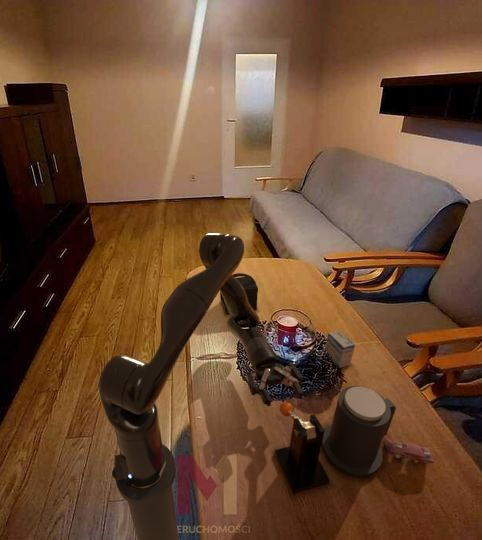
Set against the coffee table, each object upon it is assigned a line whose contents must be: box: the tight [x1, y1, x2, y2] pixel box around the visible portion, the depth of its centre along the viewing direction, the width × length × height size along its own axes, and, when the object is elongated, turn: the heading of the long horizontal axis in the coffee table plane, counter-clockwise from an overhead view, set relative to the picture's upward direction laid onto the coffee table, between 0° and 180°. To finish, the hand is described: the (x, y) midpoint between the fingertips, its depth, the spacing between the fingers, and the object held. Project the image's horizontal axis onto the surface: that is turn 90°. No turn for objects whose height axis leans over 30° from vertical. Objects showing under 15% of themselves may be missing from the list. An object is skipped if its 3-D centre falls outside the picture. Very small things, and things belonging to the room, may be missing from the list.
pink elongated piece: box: [384, 437, 435, 464], centre depth 83 cm, size 10×5×7 cm, turn 73°
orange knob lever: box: [279, 401, 316, 440], centre depth 82 cm, size 14×3×3 cm, turn 13°
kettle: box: [321, 385, 397, 479], centre depth 82 cm, size 15×14×18 cm
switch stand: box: [274, 413, 331, 495], centre depth 79 cm, size 10×9×16 cm
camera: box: [219, 272, 259, 315], centre depth 137 cm, size 11×14×15 cm
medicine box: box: [324, 329, 356, 369], centre depth 112 cm, size 8×4×9 cm, turn 21°
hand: (285, 400), depth 87 cm, fingers open, 8 cm apart
